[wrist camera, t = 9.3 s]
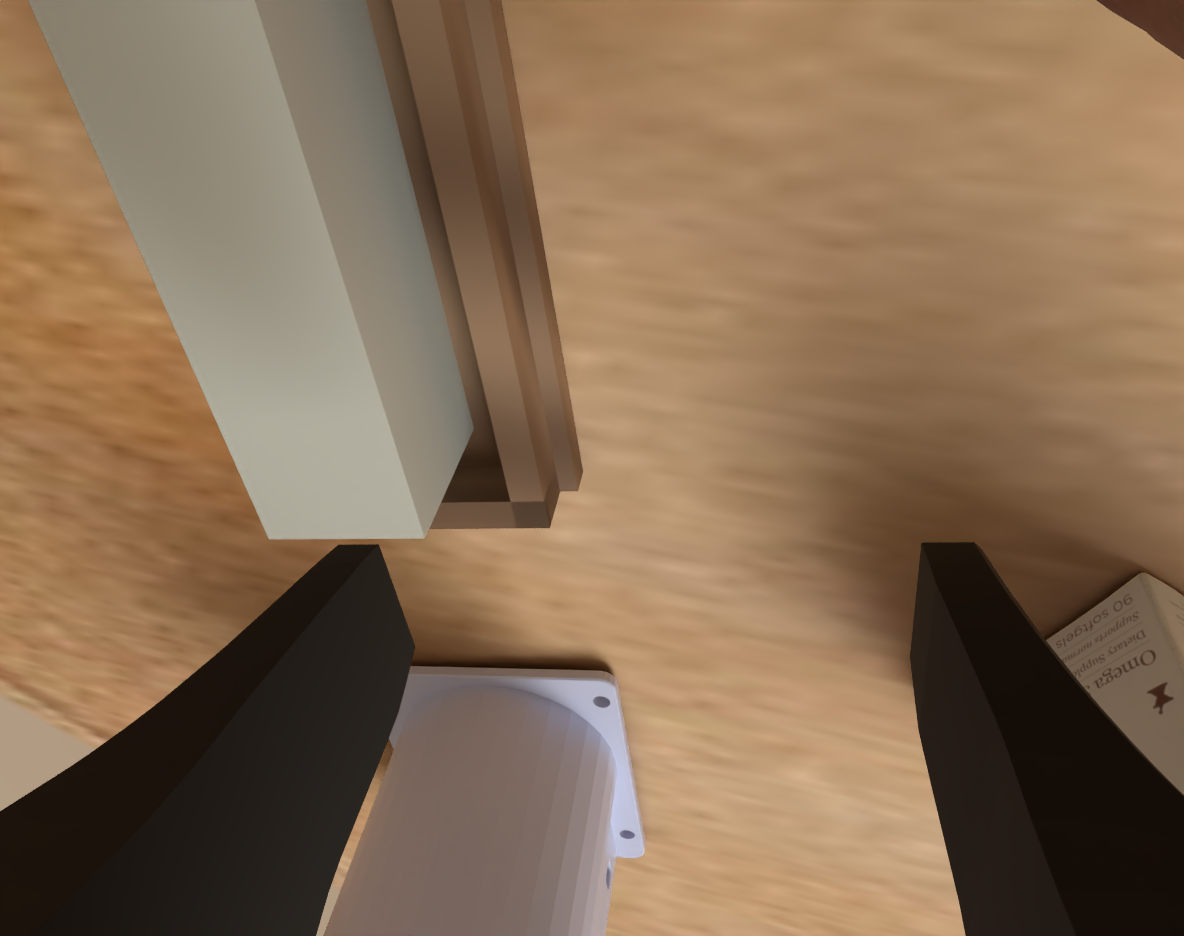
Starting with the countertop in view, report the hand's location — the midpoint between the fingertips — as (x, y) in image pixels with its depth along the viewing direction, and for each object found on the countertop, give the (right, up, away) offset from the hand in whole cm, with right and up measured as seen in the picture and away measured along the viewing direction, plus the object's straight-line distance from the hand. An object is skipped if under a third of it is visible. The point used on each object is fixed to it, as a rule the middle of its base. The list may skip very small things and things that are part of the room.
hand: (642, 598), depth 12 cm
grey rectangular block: (-6, +7, +6) cm, 12 cm away
